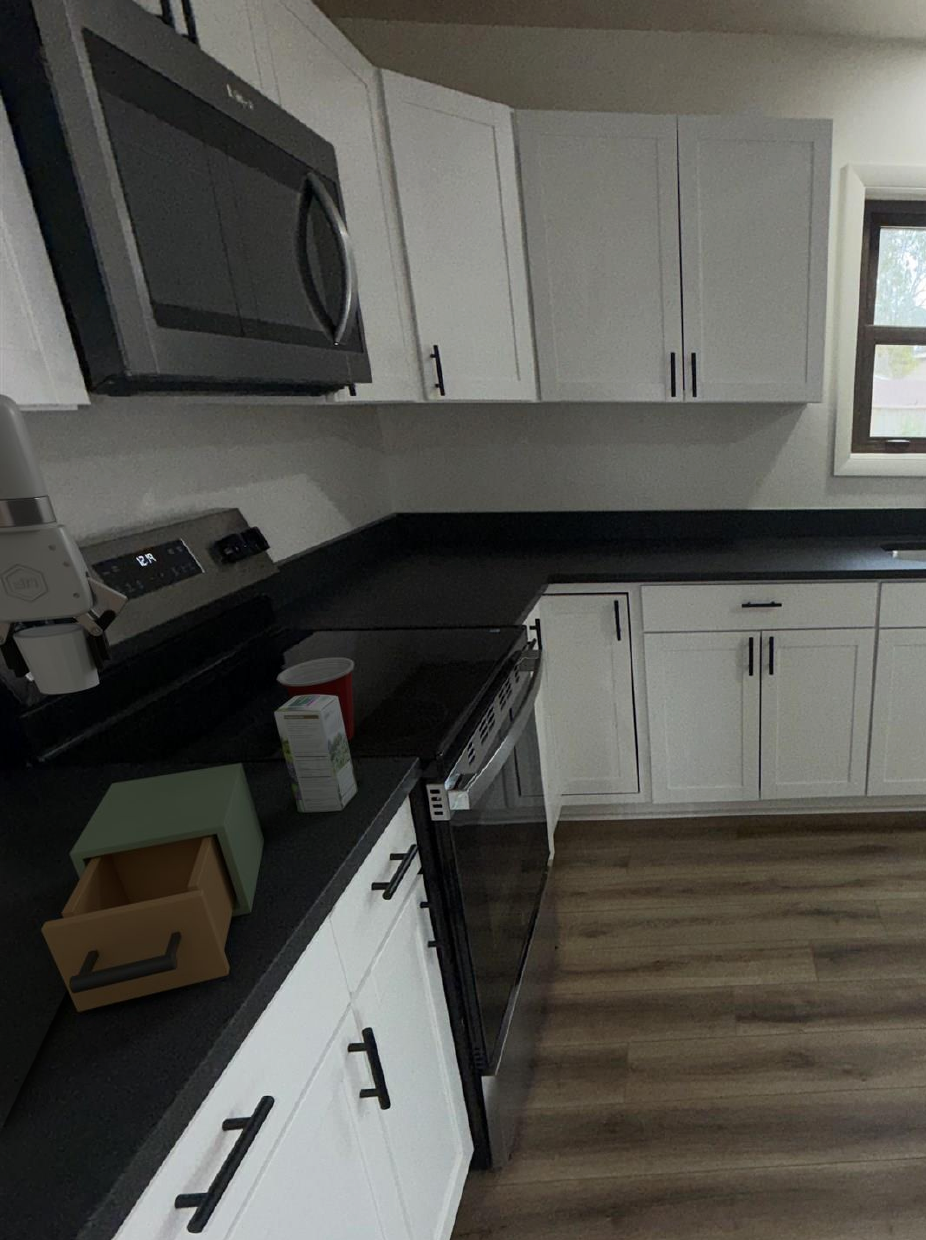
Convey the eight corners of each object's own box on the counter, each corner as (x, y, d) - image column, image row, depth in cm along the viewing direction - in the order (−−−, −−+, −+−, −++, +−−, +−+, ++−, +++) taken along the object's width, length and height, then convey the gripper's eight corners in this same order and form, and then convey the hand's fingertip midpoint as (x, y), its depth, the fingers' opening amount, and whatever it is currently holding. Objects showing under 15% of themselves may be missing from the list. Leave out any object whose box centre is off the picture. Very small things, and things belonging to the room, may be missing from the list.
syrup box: (316, 793, 110) (291, 694, 104) (360, 792, 110) (337, 693, 104) (298, 813, 105) (270, 710, 99) (344, 811, 105) (319, 708, 99)
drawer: (221, 1009, 70) (192, 926, 66) (60, 1050, 66) (20, 964, 62) (245, 889, 87) (223, 818, 83) (119, 916, 82) (90, 843, 79)
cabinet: (251, 913, 84) (223, 825, 80) (106, 945, 80) (69, 853, 75) (264, 840, 98) (241, 762, 94) (141, 864, 93) (111, 783, 89)
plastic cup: (280, 743, 126) (261, 670, 121) (345, 721, 134) (330, 653, 129) (317, 759, 120) (299, 683, 116) (383, 735, 129) (368, 664, 124)
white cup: (59, 698, 92) (38, 639, 89) (18, 692, 94) (-3, 634, 91) (119, 681, 98) (101, 624, 95) (80, 675, 100) (61, 620, 97)
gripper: (-110, 523, 81) (-43, 689, 88) (99, 514, 88) (146, 669, 95) (-79, 515, 88) (-18, 671, 94) (114, 507, 94) (157, 653, 101)
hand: (64, 669), depth 95 cm, fingers closed on white cup, 6 cm apart
